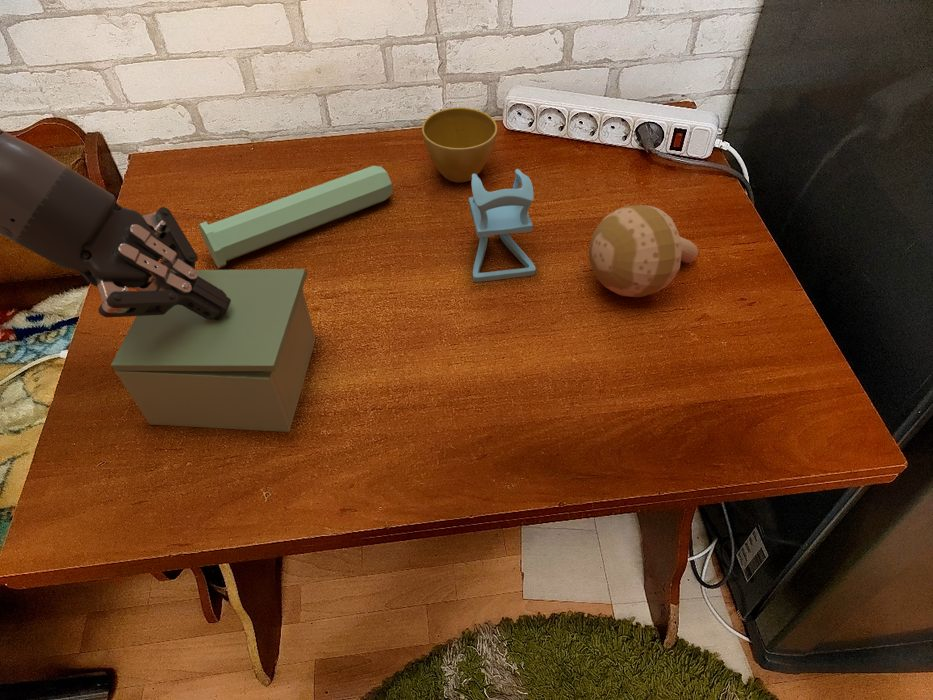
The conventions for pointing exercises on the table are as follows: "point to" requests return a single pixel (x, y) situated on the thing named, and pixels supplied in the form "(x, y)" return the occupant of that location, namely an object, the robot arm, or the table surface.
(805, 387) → the table surface
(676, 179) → the table surface
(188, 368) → the lid
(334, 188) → the green rod
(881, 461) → the table surface
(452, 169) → the flower pot
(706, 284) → the table surface
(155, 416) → the chest
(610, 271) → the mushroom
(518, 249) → the chair
